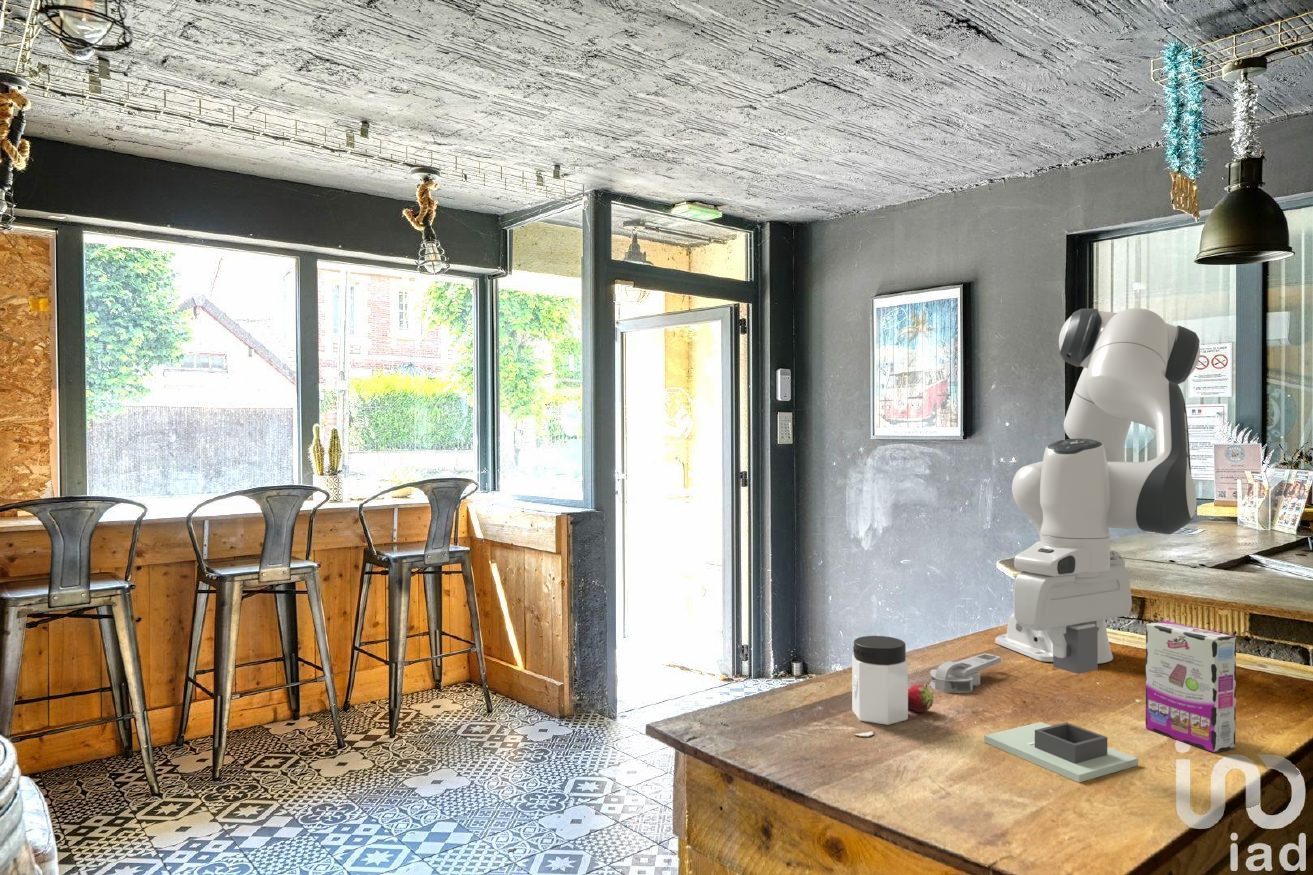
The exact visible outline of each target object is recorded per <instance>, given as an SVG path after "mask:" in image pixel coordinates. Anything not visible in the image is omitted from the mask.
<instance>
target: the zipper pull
mask: <svg viewBox="0 0 1313 875" xmlns="http://www.w3.org/2000/svg"><path fill="white" fill-rule="evenodd" d="M1001 659H1002V658H1001V656H999V655H995V654H992V653H985V652H984V653H980V654H977V655H974V656H970V657H967V658H964V659H961V660H958V661H949V660H948V661H945V662H943V663H942V664H939V665H938V666H937V669H936V668H935V669H934V668H933V669H931V670H930V671H929V675H930V676H931V681H930V682H929V686H930V687H931V688H932V689H934V690H935V691H938V692H942V693H952V694H953V693H954V694H962V693H966V694H967V693H971V692H973V690H974V687H978V686H979V687H980V686H981V673H980V672H979V671H981V670H984V669H987V668H989V667H992V666H995V665H998V664H999V663H1001V662H1002V660H1001Z"/></svg>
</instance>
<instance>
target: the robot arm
mask: <svg viewBox="0 0 1313 875" xmlns="http://www.w3.org/2000/svg"><path fill="white" fill-rule="evenodd" d="M1200 342H1201V341H1200V338H1199V336H1198V334H1197V333H1196V332H1195V331H1193V330H1191V329H1189V328H1187V327H1184V326H1181V325H1177V326H1176V325H1173V324H1170V323H1167V322H1166V321H1165V320H1164V318H1162V317H1161V316H1160V315H1159V314H1157V313H1156V312H1155V311H1152V310H1149V309H1146V308H1139V307H1138V308H1137V307H1136V308H1135V307H1133V308H1128V309H1124V310H1121V311H1119V312H1112V311H1101V310H1099V309H1098V308H1080V309H1078V310H1076V311H1074V312H1073V313H1072V314H1071V315H1070V316H1069V317H1068V318H1067V319H1066V321H1065V322H1064V323H1063V325H1062V327H1061V329H1060V332H1059V336H1058V346H1059V355H1060V356H1061V358H1062V360H1063V361H1064V362H1066V363H1068V364H1070V365H1072V366H1074V367H1076V368H1079V367H1082V368H1083V369H1082V371H1081V373H1080V376H1079V378H1078V380H1077V382H1076V386H1075V388H1074V391H1073V394H1072V398H1071V400H1070V403H1069V405H1068V409H1067V411H1066V415H1065V418H1064V421H1063V430H1064V432H1065V434H1066V435H1067V437H1068V439H1060V440H1056V441H1053V442H1052V443H1051V442H1050V443H1049V444H1048V445H1047V446H1046V447H1045V449H1044V452H1043V453H1044V454H1043V457H1042V461H1038V462H1034V463H1031V464H1028V465H1027V464H1026V465H1024V466H1022V467H1020V468H1019V469H1018V470H1017V471H1016V473H1015V474H1014V476H1013V479H1012V483H1011V493H1012V496H1013V497H1012V498H1013V500H1014V502H1015V504H1016V505H1017V507H1018V508H1019V509H1020V510H1021V511H1022V512H1024V514H1026V515H1027V516H1028V517H1029V518H1030V520H1031V521H1032V522H1033V524H1034V526H1035V528H1036V530H1037V533H1038V536H1039V540H1038V541H1036V542H1035V543H1033V545H1031V546H1030V547H1028V548H1026V549H1025V550H1023V551H1020V552H1019V553H1018V554H1016V555H1015V557H1014V559H1013V564H1014V565H1013V566H1014V569H1015V570H1016V571H1020V572H1018V574H1017V576H1016V578H1015V579H1014V587H1013V588H1014V589H1013V613H1012V614H1011V615H1010V616H1009V618H1008V623H1007V627H1006V628H1007V630H1006V633H1004V634H1000V635H998V636H997V637H995V639H994V643H995V644H997V645H999V646H1002V647H1004V648H1007V649H1009V650H1012V651H1014V652H1017V653H1020V654H1022V655H1025V656H1027V657H1029V658H1031V659H1034V660H1036V661H1037V660H1038V661H1040V662H1048V663H1049V662H1051V663H1053V655H1054V656H1056V657H1059V658H1065V657H1069V656H1070V655H1071V652H1070V650H1071V645H1070V644H1067V643H1066V641H1065V638H1064V635H1063V634H1066V626H1070V625H1075V624H1081V623H1087V622H1089V623H1093V624H1095V626H1096V627H1097V631H1098V664H1104V663H1108V662H1111V661H1113V659H1114V655H1113V653H1112V649H1111V646H1110V641H1109V637H1108V636H1109V635H1108V630H1107V624H1106V623H1107V622H1106V620H1108V619H1109V620H1110V619H1115V618H1120V617H1127V616H1128V615H1129V614H1130V612H1131V610H1132V605H1133V603H1132V602H1133V601H1132V588H1131V582H1130V581H1131V580H1130V574H1129V572H1128V570H1127V567H1126V563H1125V561H1126V560H1125V559H1124V557H1122V555H1121V554H1120V553H1119V552H1118V551H1116V550H1111V532H1110V529H1122V530H1123V529H1124V530H1126V529H1127V530H1139V531H1143V532H1150V533H1155V534H1161V535H1163V534H1164V535H1172V534H1174V533H1176V532H1178V531H1180V530H1181V529H1182V528H1184V527H1186V526H1187V525H1188V524H1189V523H1191V522H1192V521H1193V520H1194V516H1195V513H1196V510H1197V491H1196V486H1195V481H1194V479H1193V476H1192V467H1191V453H1190V452H1191V451H1190V437H1189V435H1190V434H1189V424H1188V415H1187V414H1188V413H1187V407H1186V406H1187V405H1186V402H1185V397H1184V394H1183V391H1182V389H1181V387H1180V384H1182V383H1185V382H1186V381H1187V379H1188V378H1189V376H1191V374H1193V373H1194V371H1195V369H1196V368H1197V366H1198V364H1199V361H1200V357H1201V356H1200V354H1201V348H1200ZM1132 423H1137V424H1140V425H1143V426H1146V427H1148V428H1150V429H1152V430H1154V431H1155V434H1156V435H1155V438H1156V439H1155V441H1156V442H1155V443H1156V457H1155V458H1153V459H1150V460H1147V461H1125V445H1126V439H1127V436H1128V433H1129V431H1130V430H1129V429H1130V427H1131V424H1132Z"/></svg>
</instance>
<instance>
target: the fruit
mask: <svg viewBox="0 0 1313 875" xmlns="http://www.w3.org/2000/svg"><path fill="white" fill-rule="evenodd" d="M934 698H935V697H934V693H933V691H932V690H931V689H929V688H928V683H925V684H924V685H923V684H921V683H916V684H913V685H912V686H910V687H908V710H912V711H915V712H917V713H924V712H927V711H928V710H929V709H930V708H931V707H933V703H934Z"/></svg>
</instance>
